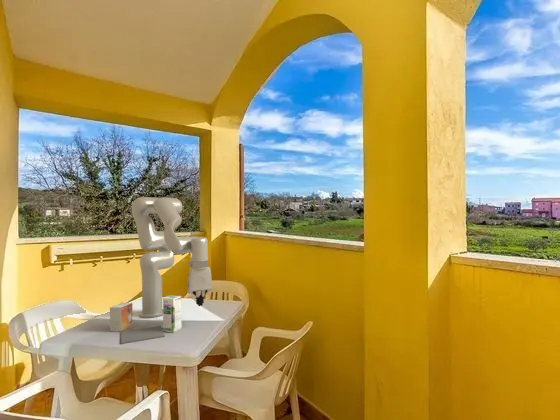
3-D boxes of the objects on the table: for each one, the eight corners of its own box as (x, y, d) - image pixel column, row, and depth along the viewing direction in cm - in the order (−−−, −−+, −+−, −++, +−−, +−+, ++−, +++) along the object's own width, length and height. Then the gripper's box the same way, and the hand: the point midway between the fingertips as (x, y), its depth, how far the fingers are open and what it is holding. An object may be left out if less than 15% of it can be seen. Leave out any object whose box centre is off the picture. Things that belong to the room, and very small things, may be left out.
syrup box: (162, 331, 138) (162, 297, 138) (171, 327, 143) (171, 294, 143) (173, 333, 136) (173, 298, 136) (182, 328, 141) (181, 295, 142)
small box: (120, 332, 138) (120, 307, 138) (109, 331, 139) (109, 307, 139) (132, 326, 146) (132, 302, 146) (122, 325, 147) (122, 302, 147)
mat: (121, 332, 137) (121, 331, 137) (161, 326, 144) (161, 325, 144) (121, 344, 124) (121, 342, 124) (164, 336, 131) (164, 335, 131)
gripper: (184, 267, 139) (184, 309, 138) (217, 264, 145) (218, 305, 145) (181, 265, 145) (181, 305, 145) (213, 262, 152) (214, 301, 152)
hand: (200, 305), depth 145 cm, fingers closed
